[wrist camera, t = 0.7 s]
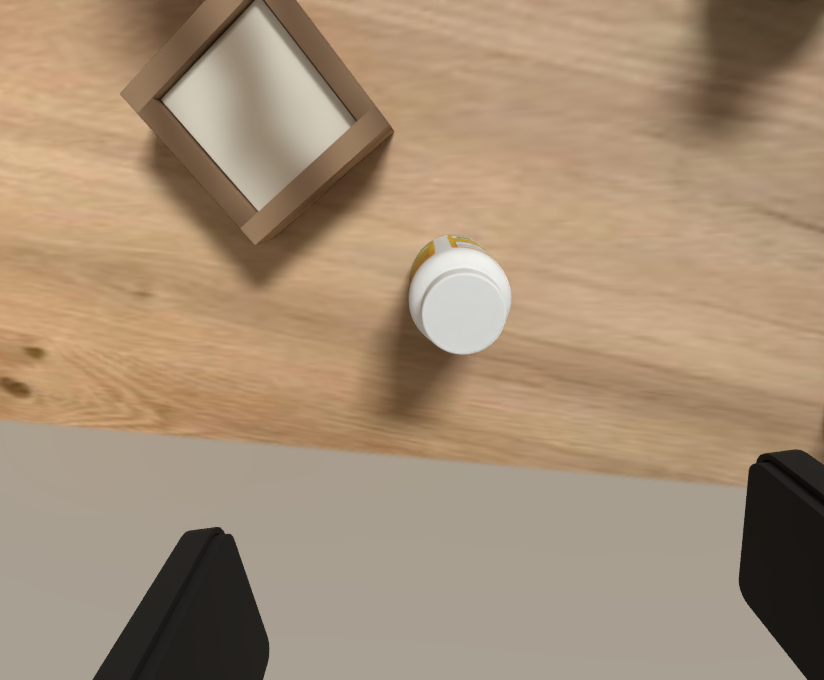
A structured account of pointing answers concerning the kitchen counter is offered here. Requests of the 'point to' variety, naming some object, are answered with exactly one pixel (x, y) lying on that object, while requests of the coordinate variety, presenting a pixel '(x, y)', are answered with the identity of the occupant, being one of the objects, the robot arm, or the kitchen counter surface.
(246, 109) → the picture frame
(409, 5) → the kitchen counter surface
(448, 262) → the supplement bottle
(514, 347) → the kitchen counter surface
